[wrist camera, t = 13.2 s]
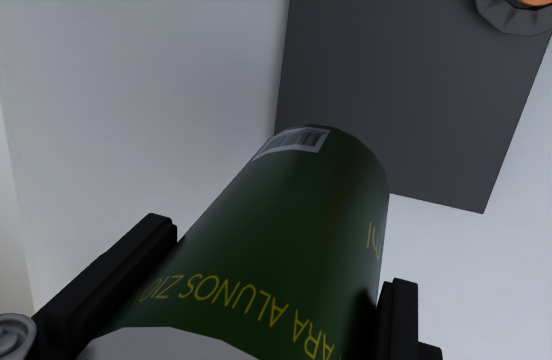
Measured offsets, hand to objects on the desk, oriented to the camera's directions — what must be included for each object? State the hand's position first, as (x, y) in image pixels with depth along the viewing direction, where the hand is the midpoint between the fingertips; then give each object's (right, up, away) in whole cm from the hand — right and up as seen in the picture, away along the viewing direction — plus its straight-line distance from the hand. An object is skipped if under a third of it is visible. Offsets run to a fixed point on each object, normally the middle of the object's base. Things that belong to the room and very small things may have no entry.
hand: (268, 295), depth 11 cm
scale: (+8, +10, +15) cm, 20 cm away
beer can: (+2, +3, +6) cm, 7 cm away
